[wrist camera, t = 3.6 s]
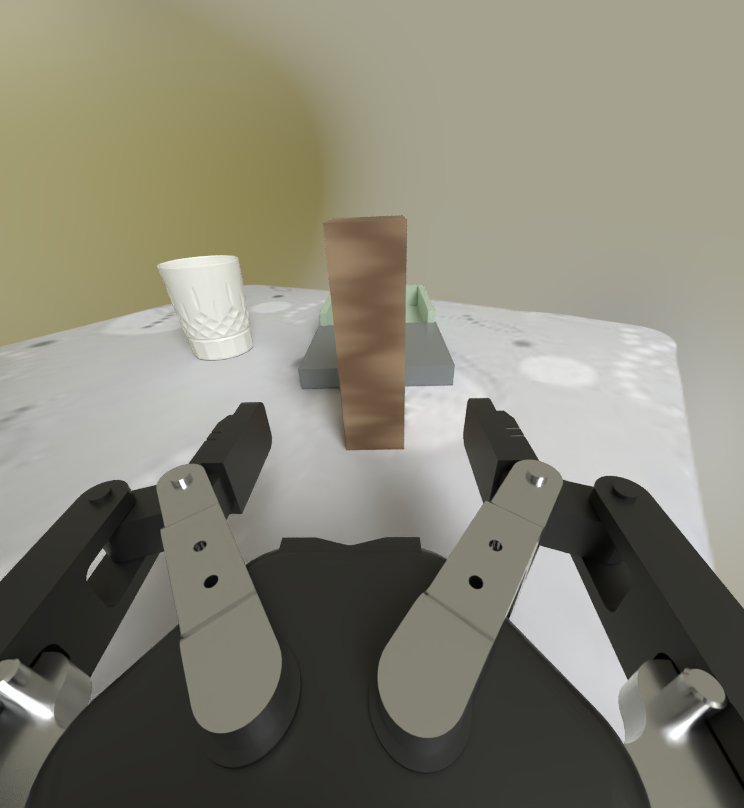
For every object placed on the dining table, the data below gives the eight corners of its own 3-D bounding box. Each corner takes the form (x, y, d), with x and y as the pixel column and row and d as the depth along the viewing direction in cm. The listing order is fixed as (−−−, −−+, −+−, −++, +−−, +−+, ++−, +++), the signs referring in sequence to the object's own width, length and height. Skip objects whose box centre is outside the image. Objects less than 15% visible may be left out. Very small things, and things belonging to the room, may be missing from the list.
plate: (301, 388, 31) (298, 369, 30) (321, 341, 41) (319, 325, 40) (452, 384, 31) (454, 365, 29) (434, 337, 41) (435, 321, 40)
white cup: (179, 351, 40) (147, 263, 35) (240, 333, 45) (220, 253, 40) (204, 369, 36) (171, 271, 30) (270, 348, 40) (251, 258, 35)
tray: (322, 341, 41) (319, 313, 39) (335, 310, 52) (332, 287, 50) (433, 338, 41) (434, 309, 39) (421, 307, 52) (422, 284, 50)
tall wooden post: (346, 449, 23) (323, 223, 16) (351, 417, 27) (333, 218, 19) (403, 448, 23) (407, 219, 16) (400, 416, 27) (402, 215, 19)
